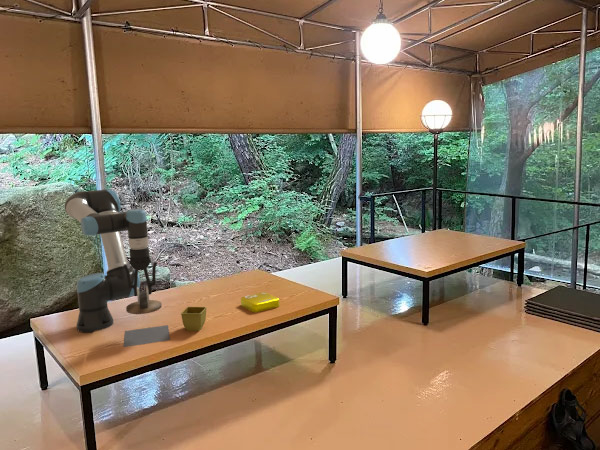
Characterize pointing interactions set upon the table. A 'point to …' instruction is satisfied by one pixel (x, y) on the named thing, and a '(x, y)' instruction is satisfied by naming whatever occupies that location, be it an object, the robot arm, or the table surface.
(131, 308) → the lid
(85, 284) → the robot arm
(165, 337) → the mat
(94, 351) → the table surface
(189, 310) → the flower pot
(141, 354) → the table surface
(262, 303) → the element tile
